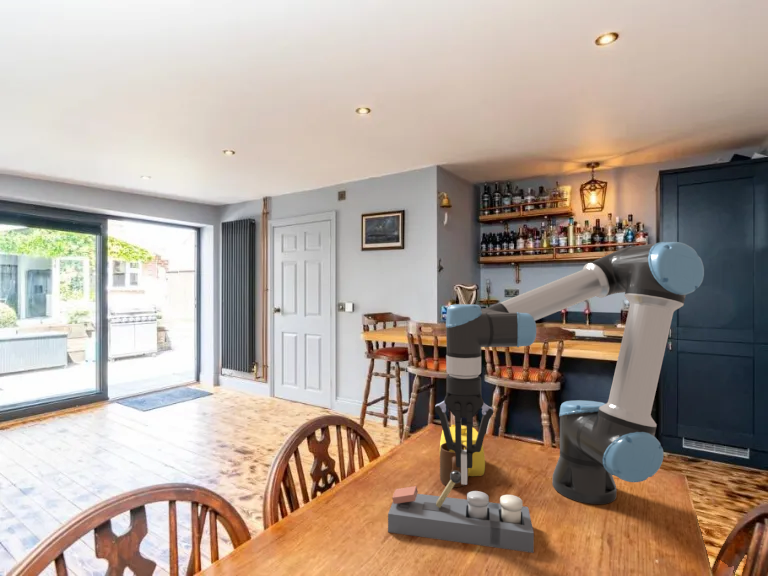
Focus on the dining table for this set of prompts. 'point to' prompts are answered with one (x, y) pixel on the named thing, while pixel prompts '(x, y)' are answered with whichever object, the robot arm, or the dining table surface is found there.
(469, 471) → the teapot
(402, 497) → the rocker
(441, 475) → the mug
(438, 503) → the lever
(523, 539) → the console
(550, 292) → the robot arm
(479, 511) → the button
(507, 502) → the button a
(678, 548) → the dining table surface
